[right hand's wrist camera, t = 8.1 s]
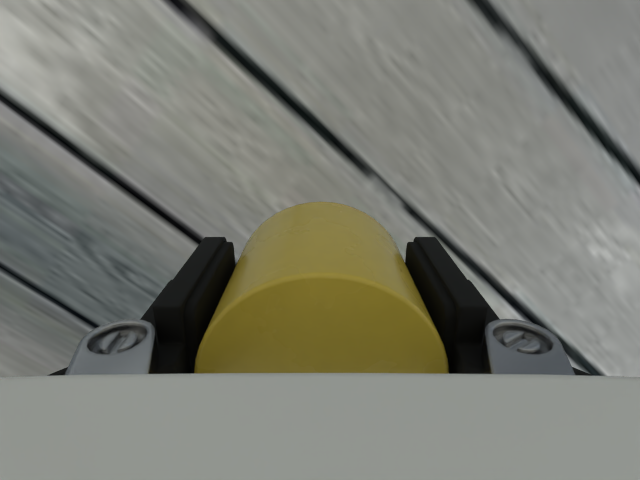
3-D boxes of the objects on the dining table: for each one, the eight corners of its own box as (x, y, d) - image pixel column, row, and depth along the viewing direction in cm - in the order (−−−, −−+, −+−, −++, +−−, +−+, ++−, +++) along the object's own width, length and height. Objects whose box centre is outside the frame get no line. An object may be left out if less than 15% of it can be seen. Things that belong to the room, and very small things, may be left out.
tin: (426, 225, 11) (492, 309, 7) (374, 363, 13) (401, 500, 9) (256, 181, 11) (215, 243, 7) (225, 331, 13) (176, 457, 8)
